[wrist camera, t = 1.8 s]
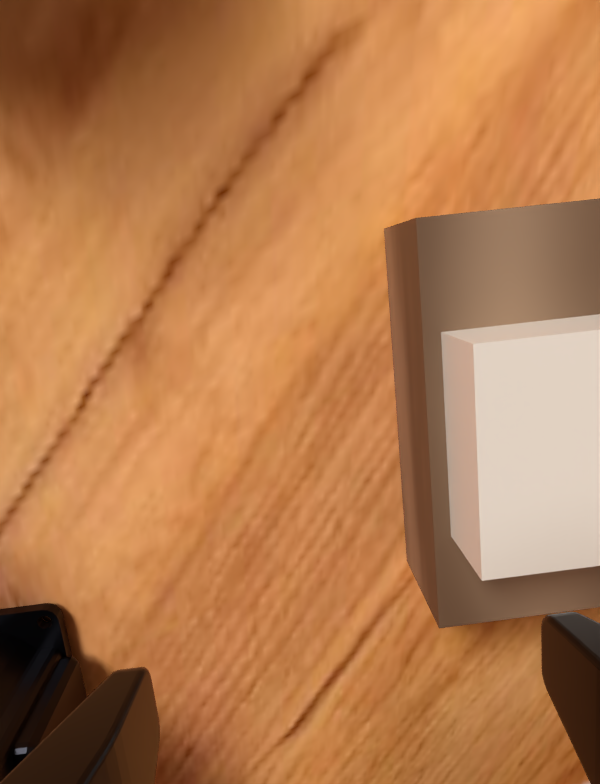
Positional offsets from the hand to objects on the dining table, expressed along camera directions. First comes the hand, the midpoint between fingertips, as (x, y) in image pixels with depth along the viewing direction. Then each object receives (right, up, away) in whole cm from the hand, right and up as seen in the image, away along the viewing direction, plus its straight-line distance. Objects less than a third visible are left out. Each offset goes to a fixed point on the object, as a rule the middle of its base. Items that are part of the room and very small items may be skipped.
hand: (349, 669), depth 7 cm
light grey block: (+8, +3, +7) cm, 11 cm away
